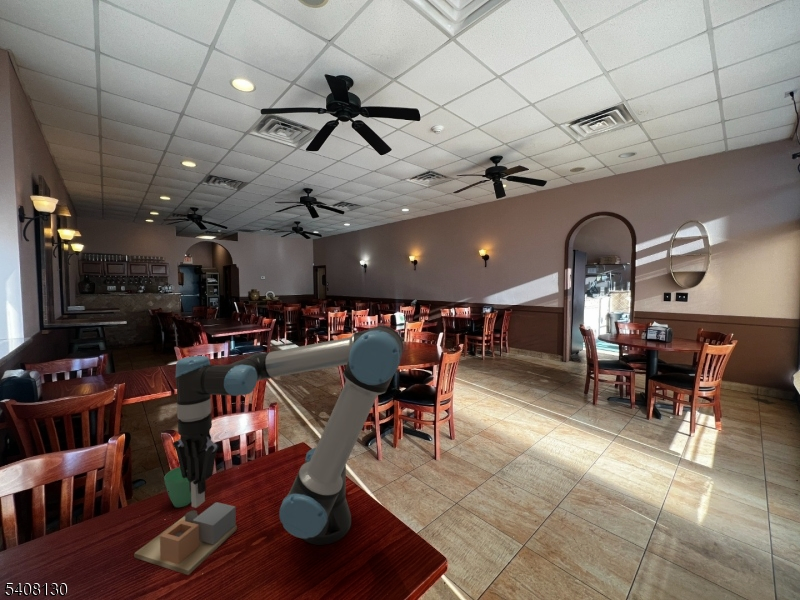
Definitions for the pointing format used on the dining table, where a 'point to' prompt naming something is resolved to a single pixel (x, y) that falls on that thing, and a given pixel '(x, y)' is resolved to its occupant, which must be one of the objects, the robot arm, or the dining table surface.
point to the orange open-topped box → (179, 542)
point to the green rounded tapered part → (178, 488)
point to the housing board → (190, 562)
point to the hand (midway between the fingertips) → (198, 503)
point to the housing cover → (215, 522)
